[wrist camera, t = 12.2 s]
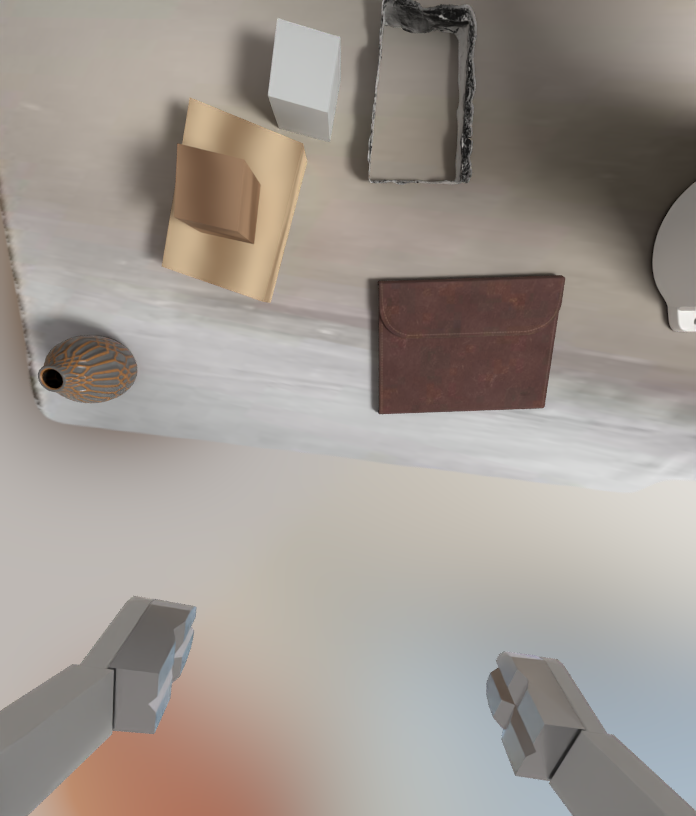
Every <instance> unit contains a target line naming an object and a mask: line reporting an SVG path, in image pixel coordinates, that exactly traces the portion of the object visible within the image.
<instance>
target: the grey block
mask: <svg viewBox="0 0 696 816" xmlns="http://www.w3.org/2000/svg"><path fill="white" fill-rule="evenodd" d="M340 81H341V47H340V37H339V36H335V35H332V34H329V33H325V32H322V31H319V30H315V29H312V28H309V27H306V26H302V25H299V24H296V23H292V22H289V21H286V20H282V19H279V18H277V25H276V33H275V41H274V49H273V58H272V66H271V74H270V82H269V90H268V98H269V101H270V104H271V107H272V110H273V112H274V115H275V118H276V121H277V124H278V127H279V129H283V130H286V131H290V132H294V133H297V134H301V135H305V136H308V137H312V138H316V139H319V140H323V141H327V142H330V138H331V133H332V127H333V121H334V115H335V110H336V104H337V98H338V92H339V86H340Z"/></svg>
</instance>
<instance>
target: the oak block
mask: <svg viewBox="0 0 696 816" xmlns="http://www.w3.org/2000/svg"><path fill="white" fill-rule="evenodd" d="M182 145H186V146H190V147H195V148H199V149H203V150H207V151H211V152H215V153H220V154H224V155H228V156H232V157H236V158H240V159H244V160H245V161H246V163H247V164H248V166H249V167H250V169H251V170H252V172H253V174H254V175H255V177H256V178H257V180H258V181H259V183H260V184H261V187H260V196H259V205H258V214H257V223H256V232H255V241H254V244H251V243H246V242H242V241H237V240H233V239H228V238H224V237H219V236H215V235H210V234H206V233H201V232H199V231H198V230H196V229H194V228H192V227H190V226H189V225H187V224H185V223H183V222H182V221H180V220H178V219H176V218H175V217H174V205H175V190H174V196H173V202H172V208H171V214H170V220H169V226H168V232H167V238H166V244H165V250H164V256H163V262H162V267H165V268H168V269H171V270H174V271H176V272H179V273H182V274H185V275H188V276H191V277H194V278H197V279H199V280H202V281H205V282H208V283H211V284H214V285H217V286H220V287H222V288H225V289H228V290H231V291H234V292H237V293H240V294H243V295H246V296H248V297H251V298H254V299H257V300H260V301H263V302H269V303H271V299H272V295H273V292H274V288H275V284H276V280H277V276H278V272H279V268H280V265H281V261H282V257H283V253H284V249H285V245H286V241H287V238H288V234H289V230H290V226H291V222H292V218H293V215H294V211H295V207H296V203H297V199H298V195H299V191H300V188H301V184H302V180H303V176H304V172H305V168H306V164H307V159H306V154H305V150H304V146H303V143H300V142H298V141H295V140H293V139H290V138H288V137H286V136H283V135H281V134H278V133H276V132H273V131H271V130H268V129H266V128H263V127H261V126H259V125H256V124H254V123H251V122H249V121H246V120H244V119H241V118H239V117H237V116H234V115H232V114H229V113H227V112H224V111H222V110H219V109H217V108H214V107H212V106H210V105H207V104H205V103H202V102H200V101H197V100H195V99H192V98H190V100H189V106H188V112H187V118H186V124H185V130H184V136H183V142H182Z"/></svg>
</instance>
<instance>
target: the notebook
mask: <svg viewBox="0 0 696 816" xmlns="http://www.w3.org/2000/svg"><path fill="white" fill-rule="evenodd" d="M564 283H565V277H563V276H562V275H555V276H523V277H492V278H460V279H429V280H398V281H378V285H379V410H378V413H379V414H397V413H425V412H452V411H480V410H508V409H536V408H544V406H545V399H546V393H547V386H548V379H549V373H550V366H551V359H552V353H553V346H554V339H555V333H556V326H557V320H558V313H559V310H560V307H561V303H562V297H563V290H564Z"/></svg>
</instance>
